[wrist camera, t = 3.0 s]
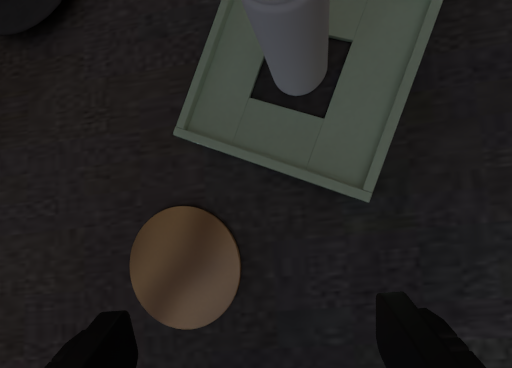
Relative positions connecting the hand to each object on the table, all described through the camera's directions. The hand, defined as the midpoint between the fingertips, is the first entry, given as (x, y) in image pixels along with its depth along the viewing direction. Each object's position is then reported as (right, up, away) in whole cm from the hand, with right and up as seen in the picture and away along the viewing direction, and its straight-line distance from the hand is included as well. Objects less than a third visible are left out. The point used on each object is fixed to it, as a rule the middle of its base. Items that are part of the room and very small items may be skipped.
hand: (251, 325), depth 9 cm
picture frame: (+4, +14, +16) cm, 22 cm away
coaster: (-6, -3, +17) cm, 18 cm away
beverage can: (+4, +14, +16) cm, 22 cm away
